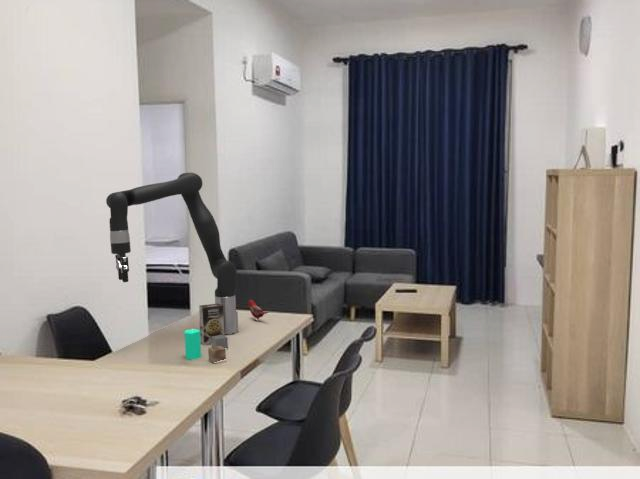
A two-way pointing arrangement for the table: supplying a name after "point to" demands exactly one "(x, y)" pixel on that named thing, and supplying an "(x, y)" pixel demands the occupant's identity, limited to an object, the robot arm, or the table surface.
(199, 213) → the robot arm
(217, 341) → the gray cube
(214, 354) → the walnut block
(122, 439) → the table surface
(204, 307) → the coffee box
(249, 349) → the table surface
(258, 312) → the decorative bird figurine
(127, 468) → the table surface
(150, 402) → the table surface
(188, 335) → the candle
